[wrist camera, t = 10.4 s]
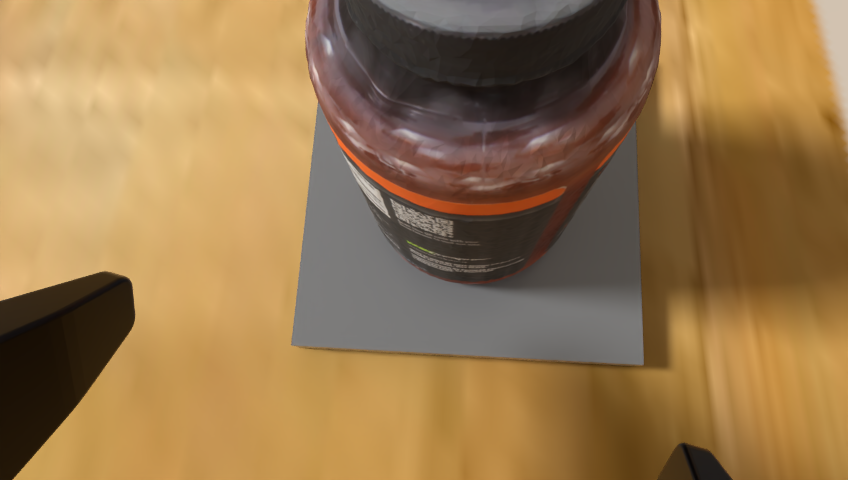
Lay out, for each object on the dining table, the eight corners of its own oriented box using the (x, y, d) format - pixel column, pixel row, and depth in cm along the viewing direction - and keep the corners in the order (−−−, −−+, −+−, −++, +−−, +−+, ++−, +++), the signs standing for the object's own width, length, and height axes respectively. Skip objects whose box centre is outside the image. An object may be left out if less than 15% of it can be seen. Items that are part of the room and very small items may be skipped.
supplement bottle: (545, 88, 19) (682, -346, 8) (588, 270, 17) (835, 62, 6) (359, 119, 19) (225, -268, 8) (385, 304, 17) (267, 156, 6)
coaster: (633, 366, 17) (644, 365, 16) (299, 347, 18) (291, 345, 17) (624, 63, 20) (633, 46, 19) (331, 54, 20) (325, 38, 19)
